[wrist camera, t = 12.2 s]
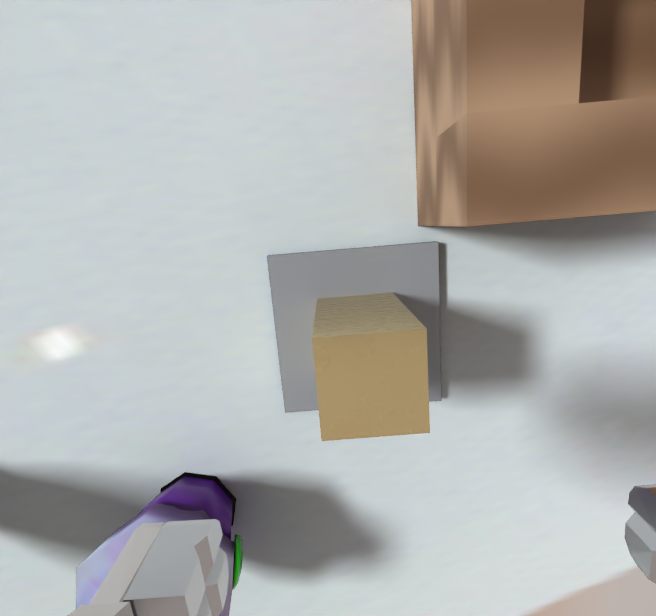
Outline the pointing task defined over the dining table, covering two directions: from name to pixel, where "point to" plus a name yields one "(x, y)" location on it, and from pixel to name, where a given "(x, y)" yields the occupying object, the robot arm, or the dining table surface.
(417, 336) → the tan wooden block
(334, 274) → the slate pad
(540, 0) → the wooden slotted box
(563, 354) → the dining table surface
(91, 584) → the potion bottle
